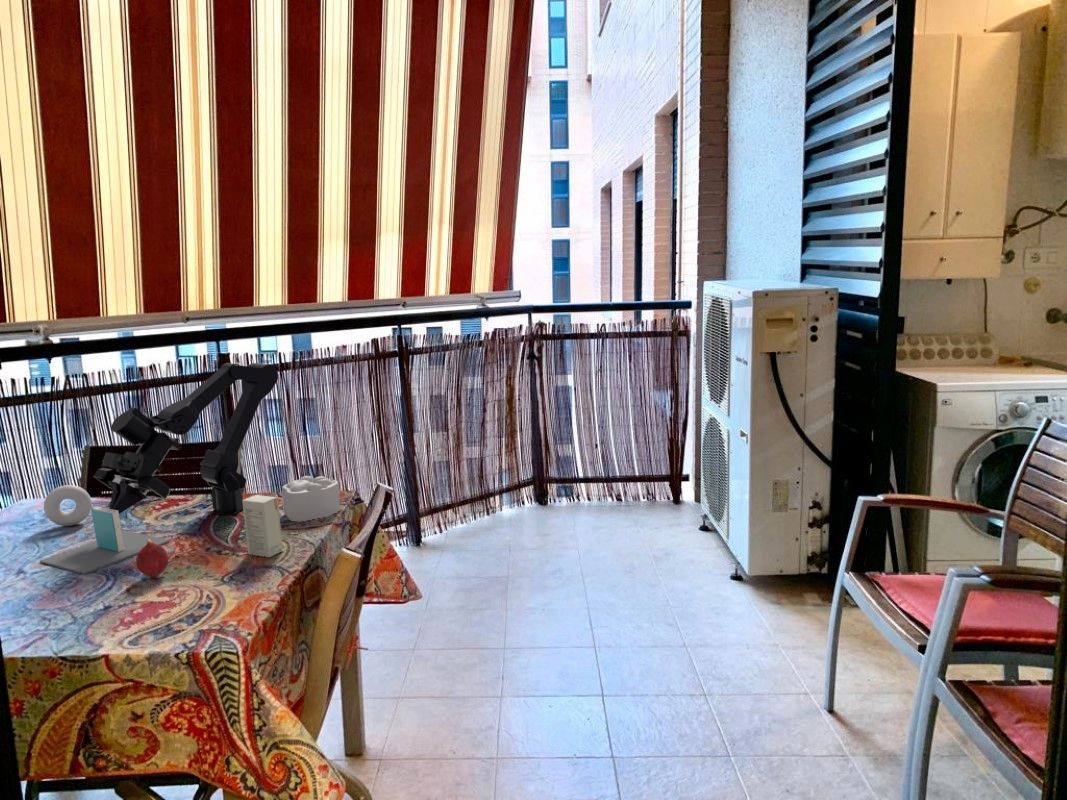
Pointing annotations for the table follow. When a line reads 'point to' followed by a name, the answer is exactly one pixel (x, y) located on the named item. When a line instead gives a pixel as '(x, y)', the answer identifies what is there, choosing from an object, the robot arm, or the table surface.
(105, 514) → the tile
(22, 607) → the table surface
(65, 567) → the mat
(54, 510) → the donut
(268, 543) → the skincare box
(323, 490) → the lumpy-topped squat cylinder
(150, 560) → the onion
